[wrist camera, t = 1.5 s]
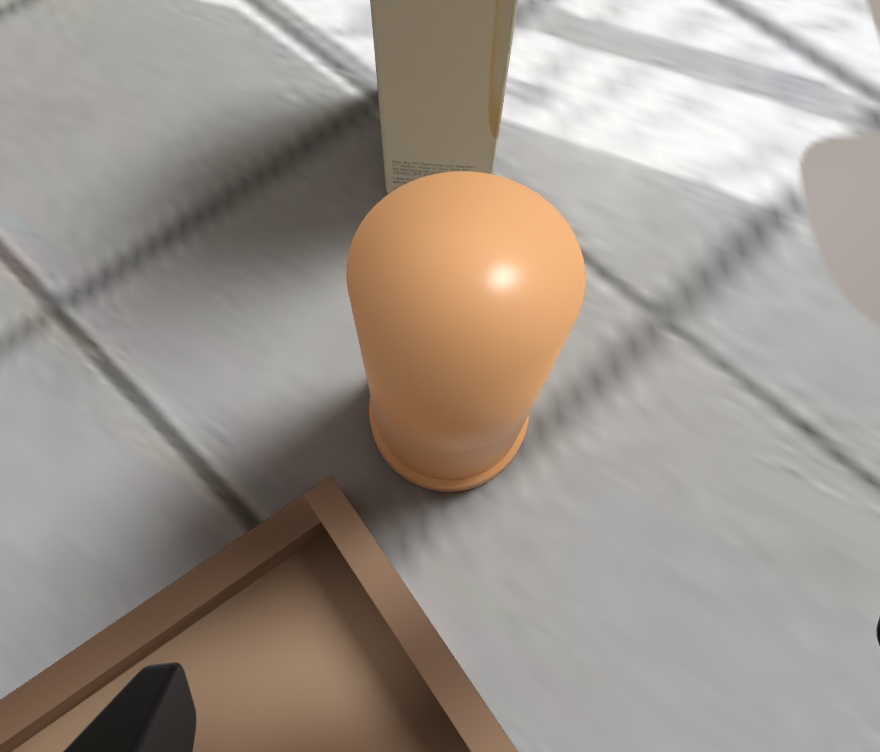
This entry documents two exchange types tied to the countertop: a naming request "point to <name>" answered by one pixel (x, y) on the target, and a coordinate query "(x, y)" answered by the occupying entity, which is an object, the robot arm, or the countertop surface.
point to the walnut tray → (277, 651)
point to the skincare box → (440, 84)
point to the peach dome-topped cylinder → (460, 320)
